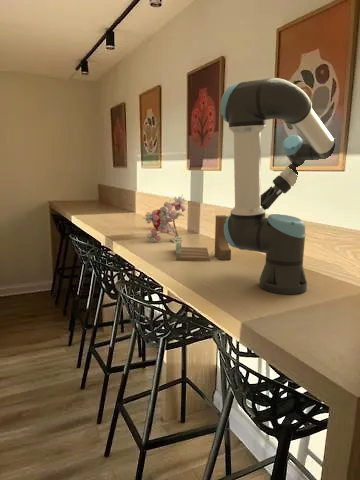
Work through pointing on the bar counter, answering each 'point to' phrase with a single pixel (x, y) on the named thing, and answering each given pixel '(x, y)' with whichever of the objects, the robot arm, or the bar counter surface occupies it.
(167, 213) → the flower
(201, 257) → the walnut edge board
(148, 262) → the bar counter surface
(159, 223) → the red rounded piece
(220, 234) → the wooden block
